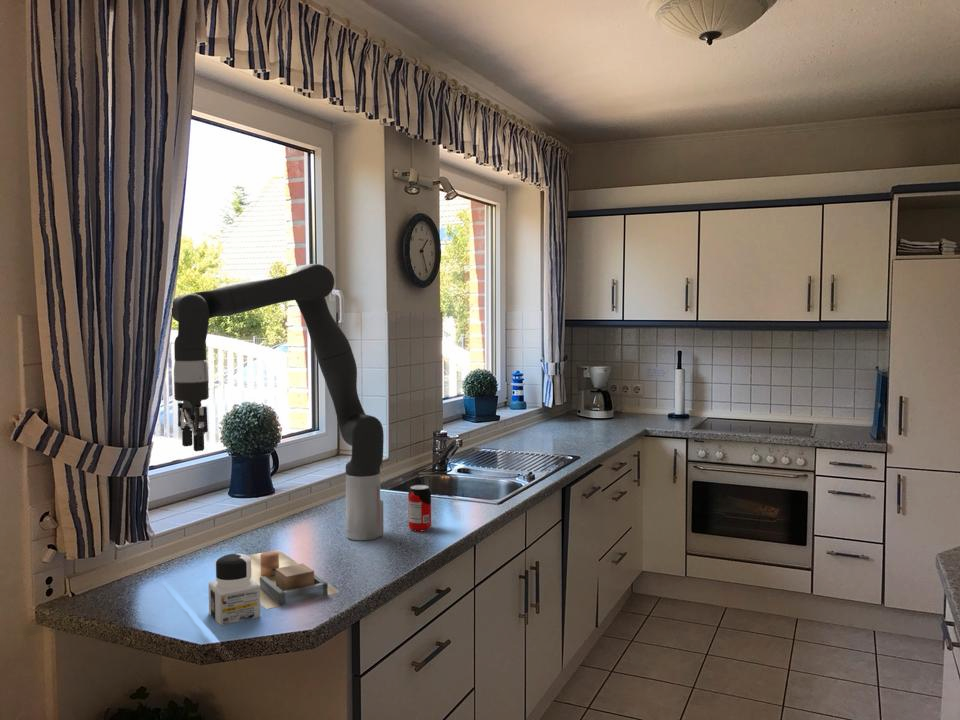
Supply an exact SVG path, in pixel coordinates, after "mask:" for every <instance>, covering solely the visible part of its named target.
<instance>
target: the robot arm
mask: <svg viewBox="0 0 960 720" xmlns="http://www.w3.org/2000/svg"><path fill="white" fill-rule="evenodd" d="M334 286H335V278H334V274H333V273H332V271H331V270H330V269H329V268H328V267H327V266H325V265H322V264H320V263H310V264H309V263H308V264H303V265H299V266H297V267H295V268H294V269H292V272H291V273H290V274H285V275H282V276H278V277H274V278H265V279H260V280H259V279H258V280H251V281H244V282H239V283H233V284H230V285H229V284H228V285H225V286H221V287H217V288H214V289H210V290H204V291H198V292H190V293H189V292H188V293H185V294H180V295H178V296H176V297H175V298H174V299H173V300H174V301H173V308H172V315H171V317H172V318H173V319H174V320H175V321H176V322H178V324H177V325H178V327H177V329H178V330H177V336H176V338H174V339H175V340H174V344H173V345H174V346H173V347H174V348H173V349H174V354H173V355H174V367H173V389H174V391H173V392H174V393H173V394H174V395H173V396H174V400H175V401H177V426H178V427H179V429H180V431H181V442H182V443H181V444H182V446H183V447H191V446H192V447H193V451H195V452H202V451H204V450H205V435H206V433H208V432H209V428H208V427H209V426H208V424H209V423H208V408H207V406H202V401H206V400H208V399H209V397H210V395H209V394H210V393H209V390H210V389H209V368H208V362H207V360H208V359H207V336H208V329H209V323H210V319H212V318H217V317H228V316H229V317H230V316H233V315H238V314H241V313H246V312H249V311H250V312H251V311H253V310H257V309H261V308H264V307H269V306H273V305H275V304H276V305H277V304H280V303H285V302H290V301H295V302H296V304H297V307H298V308H299V311H300V313H301V316H302V317H303V320H304V322H305V324H306V329H307V332H308V334H309V338H310V341H311V343H312V347H313V349H314V353H315V357H316V359H317V362H318V364H319V369H320V371H321V373H322V376H323V378H324V381H325V384H326V387H327V390H328V392H329V395H330V397H331V400H332V404H333V407H334V411H335V415H336V420H337V423H338V424H337V425H338V428H339V432H340V434H341V435H340V436H341V438H342V439H343V441H344V442H345V443H346V444H347V445H349V446H351V458H350V461H348V462H346V464H345V518H346V519H345V525H346V527H345V534H346V535H345V537H346V539H349V540H353V541H369V540H374V539H377V538H379V537H382V536H384V535H385V534H384V526H385V525H384V501H383V500H382V499H381V466H382V464H383V461H384V459H383V458H384V439H385V438H384V427H383V424H382V423H381V421H380V420H379V419H378V418H377V417H376V416H374V415H373V416H372V415H369V414H366V413H365V410H364V408H363V406H362V403H361V401H360V398H359V394H358V389H357V382H358V368H357V362H356V359H355V356H354V353H353V350H352V347H351V343H350V342H349V340H348V337H346V334H345V333H344V332H343V330H342V329H341V328H340V326H339V324H338V323H337V322H336V321H335V319H334V318H333V316H332V314H331V311H330V309H329V306H328V302H327V300H326V297H328V296H329V295H330V294H331V292H332V291H333V290H334Z"/></svg>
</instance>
